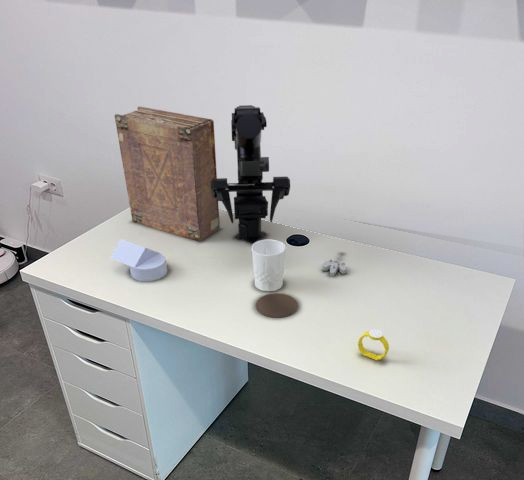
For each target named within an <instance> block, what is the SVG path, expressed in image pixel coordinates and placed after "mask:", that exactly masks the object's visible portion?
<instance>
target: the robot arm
mask: <svg viewBox="0 0 524 480" xmlns="http://www.w3.org/2000/svg"><path fill="white" fill-rule="evenodd" d="M267 123H268V122H267V118H266V116H265V114H264V112H263V111H262V112H261V107H259V106H257V107H256V106H255V105H252V104H251V105H250V104H249V105H248V104H247V105H238V106H236V107H235V108H234V112H231V120H230V124H231V125H230V127H231V128H230V129H231V142H234V149H235V151H236V155H237V156H236V159H237V161H236V162H237V182H232V183H231V182H230V183H229V182H228V178H226V177H220V178H218V177H217V179H212V180H211V193H212V197H213V198H217V200H218V202H221V203H222V204H223V206H224V208H225V210H226V212H227V215H228V218H229V220H230V222H231V224H234V220H238V233H236V234H234V238H235V239H238V240H241V241H244V242H248V243H251V244H254V243H255V242H257V241H260V240H261V239H262V238H264V237H265V236H267V233H266V232H265V231H262V219H266V218H267V216H269V222H270V223H273V220H274V216H275V212H276V209H277V205H278V203H279V202H280V200H284V198H285V197H287V196H289V195H290V191H291V179H290V178H289V176H272V181H266V182H265V181H264V182H263V180H264V176H263V173H269V172H270V157H269V156H262V150H261V148H262V147H261V142H262V131H265V128H267V127H268V125H267ZM268 191H269V192H271V199H270V212H269V201H268V200H267V198H266V196H265V195H264V192H268ZM230 193H235V194H236V196H233V206H232V202H231V196H230ZM232 207H233V208H234V209H233V208H232ZM233 211H234V214H233Z"/></svg>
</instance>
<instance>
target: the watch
mask: <svg viewBox="0 0 524 480" xmlns="http://www.w3.org/2000/svg"><path fill="white" fill-rule="evenodd" d="M366 337H368V338H369V339H370V340H373V341H380V343H381V344H382V346H383V348H384V351H383V354H376V353H372V352H371V351H368V350H367V349H366V348H365V346H364V344H363V339H364V338H366ZM357 347H358V351H359V352H360V353H361V354H362V356H365V357H367V358H370V359H372V360H374V361H379V360H382V359H384V358H385V357H386V356H387V354H388V353H389V350H390V349H389V348H390V344H389V342H388V340H387V338H386V337H385V336H384V333H383V332H382V330H380V329H378V328H373V329H370V330H369V331H365V332H364V333H362V334H361V336H359V339H358V341H357Z"/></svg>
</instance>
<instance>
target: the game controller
mask: <svg viewBox="0 0 524 480" xmlns="http://www.w3.org/2000/svg"><path fill="white" fill-rule="evenodd" d="M341 255H343V252H340V254H339V257H337V259H336V260H335V259H332V258H330V259H327V260H325V261H324V263H323V264H322V270H323V271H325V272H326V271H328V270H329V276H330V277H334V276H335V275H336V273H338V271H339V272H340V274H343V275H344V274H345V273H346V271H347V264H346V262H343V261H340V258H341Z"/></svg>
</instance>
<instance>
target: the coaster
mask: <svg viewBox="0 0 524 480" xmlns="http://www.w3.org/2000/svg"><path fill="white" fill-rule="evenodd" d="M298 307H299V304H298V301H297V300H296V299H295V298H294V297H292V296H291V295H289V294H285V293H277V292H276V293H269V294H264V295H263V296H261V297H259V298H258V299H257V300H256V302H255V310H256V311H257V312H258V313H259V314H261V315H263V316H265V317H268V318H275V319H279V318H286V317H289V316H292V315H294V314H295V313H296V311H297V310H298Z"/></svg>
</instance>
